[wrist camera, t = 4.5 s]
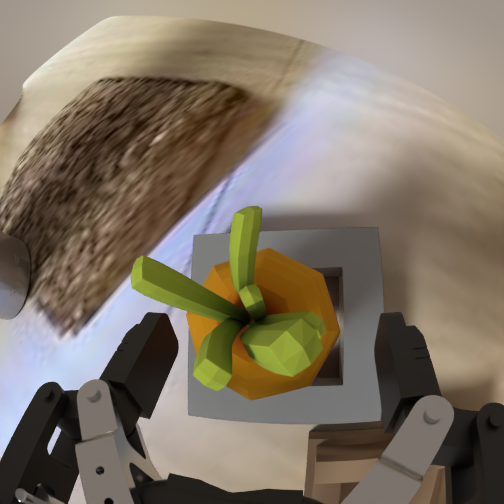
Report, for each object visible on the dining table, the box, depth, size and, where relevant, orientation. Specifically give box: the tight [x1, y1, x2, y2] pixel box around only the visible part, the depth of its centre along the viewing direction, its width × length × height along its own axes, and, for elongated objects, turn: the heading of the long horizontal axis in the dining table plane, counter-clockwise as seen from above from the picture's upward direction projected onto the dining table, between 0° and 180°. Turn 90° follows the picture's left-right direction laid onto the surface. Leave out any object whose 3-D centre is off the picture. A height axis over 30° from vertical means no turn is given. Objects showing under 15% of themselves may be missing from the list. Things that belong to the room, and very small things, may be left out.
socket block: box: [188, 227, 384, 424], centre depth 17 cm, size 11×11×3 cm
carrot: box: [131, 206, 341, 401], centre depth 12 cm, size 5×5×15 cm
